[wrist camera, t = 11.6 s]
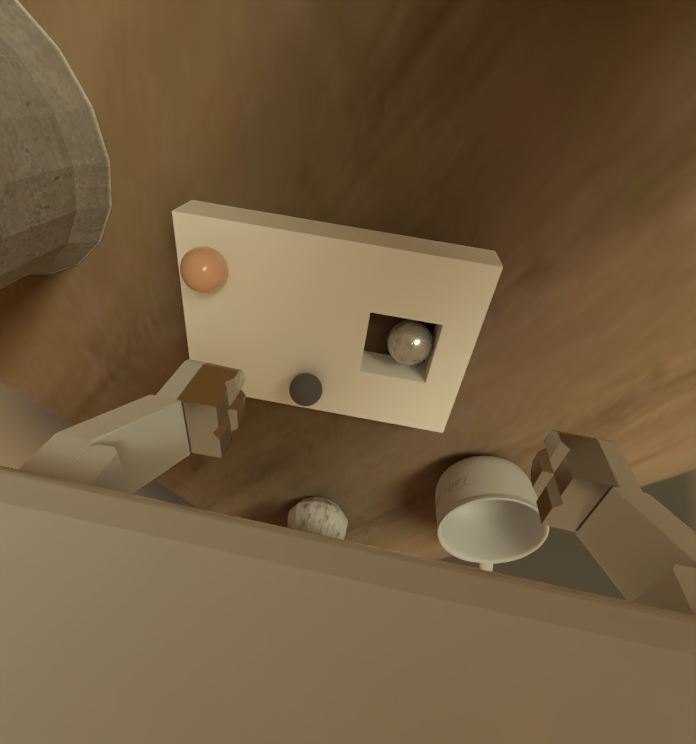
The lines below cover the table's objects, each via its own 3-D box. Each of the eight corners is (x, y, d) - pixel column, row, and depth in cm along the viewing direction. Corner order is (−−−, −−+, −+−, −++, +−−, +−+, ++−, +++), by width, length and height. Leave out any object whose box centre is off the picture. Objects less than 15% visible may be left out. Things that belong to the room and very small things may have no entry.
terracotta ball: (234, 244, 32) (216, 260, 29) (235, 286, 34) (219, 304, 31) (190, 236, 32) (168, 252, 29) (194, 278, 34) (174, 296, 32)
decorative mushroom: (315, 551, 62) (291, 667, 50) (248, 498, 56) (203, 614, 44) (392, 524, 56) (386, 649, 43) (325, 461, 50) (296, 584, 38)
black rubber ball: (326, 369, 38) (320, 389, 36) (323, 394, 40) (317, 415, 37) (294, 363, 38) (286, 383, 36) (292, 389, 40) (284, 409, 37)
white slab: (495, 251, 33) (503, 267, 31) (441, 409, 43) (442, 432, 41) (192, 199, 34) (171, 210, 31) (207, 367, 44) (192, 387, 41)
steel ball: (423, 309, 38) (446, 333, 35) (413, 346, 40) (434, 371, 37) (384, 313, 36) (404, 338, 34) (376, 350, 39) (395, 376, 36)
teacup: (444, 434, 45) (449, 493, 39) (546, 448, 45) (568, 512, 38) (421, 512, 53) (422, 572, 47) (507, 525, 53) (519, 588, 46)
